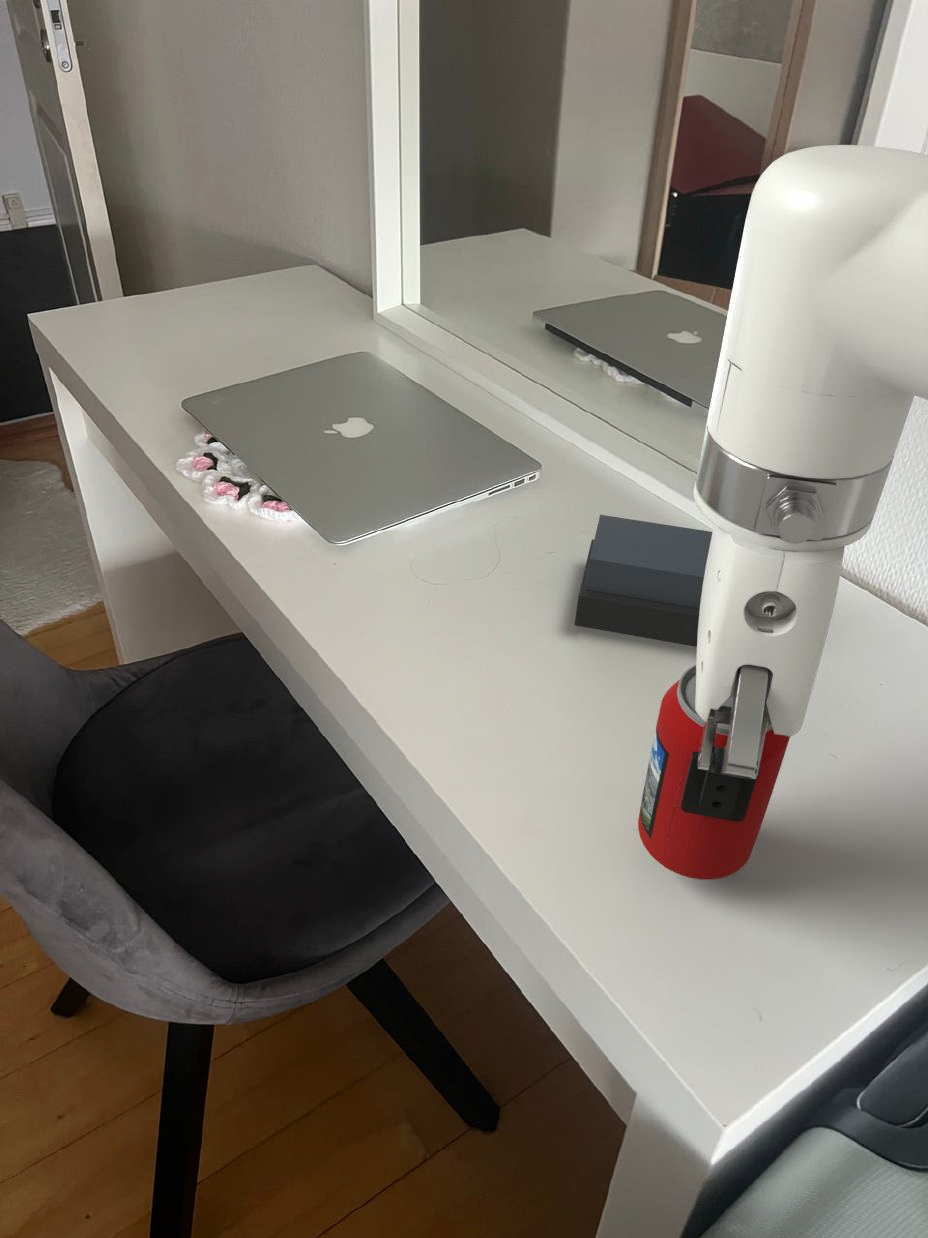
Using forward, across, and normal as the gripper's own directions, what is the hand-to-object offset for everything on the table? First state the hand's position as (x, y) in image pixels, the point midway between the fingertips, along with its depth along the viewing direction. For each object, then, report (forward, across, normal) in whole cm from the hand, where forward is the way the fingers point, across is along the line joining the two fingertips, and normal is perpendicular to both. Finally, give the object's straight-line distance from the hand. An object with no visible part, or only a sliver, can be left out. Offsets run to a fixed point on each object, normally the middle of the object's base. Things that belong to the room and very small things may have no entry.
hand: (713, 758), depth 50 cm
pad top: (+6, +24, +5) cm, 25 cm away
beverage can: (+7, 0, 0) cm, 7 cm away
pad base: (+9, +24, +5) cm, 26 cm away
